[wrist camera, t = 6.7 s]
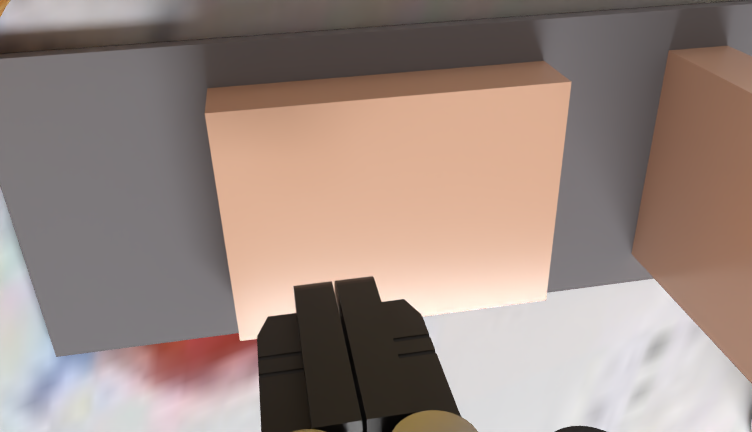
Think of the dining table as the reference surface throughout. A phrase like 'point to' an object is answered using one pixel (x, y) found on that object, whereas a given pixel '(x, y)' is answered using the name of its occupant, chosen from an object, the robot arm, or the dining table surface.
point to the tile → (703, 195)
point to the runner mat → (285, 64)
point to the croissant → (3, 5)
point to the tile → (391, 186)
